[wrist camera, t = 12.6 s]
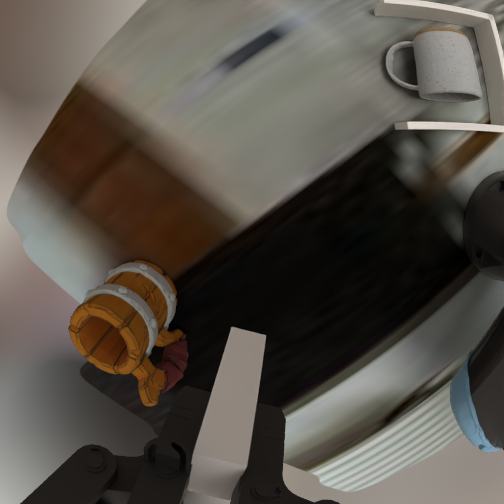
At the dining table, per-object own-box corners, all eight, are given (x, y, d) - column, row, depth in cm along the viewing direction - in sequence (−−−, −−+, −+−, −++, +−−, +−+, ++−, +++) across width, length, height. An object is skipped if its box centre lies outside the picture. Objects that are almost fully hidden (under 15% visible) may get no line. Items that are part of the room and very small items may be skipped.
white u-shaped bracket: (395, 129, 33) (408, 129, 29) (373, 10, 28) (382, -3, 24) (495, 131, 31) (514, 133, 27) (476, 23, 26) (492, 15, 21)
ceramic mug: (452, 44, 28) (480, 29, 21) (462, 103, 30) (494, 99, 23) (377, 37, 30) (395, 16, 22) (388, 100, 32) (409, 92, 25)
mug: (139, 240, 42) (78, 289, 28) (220, 327, 45) (193, 402, 31) (98, 283, 45) (40, 335, 31) (172, 359, 48) (137, 428, 34)
